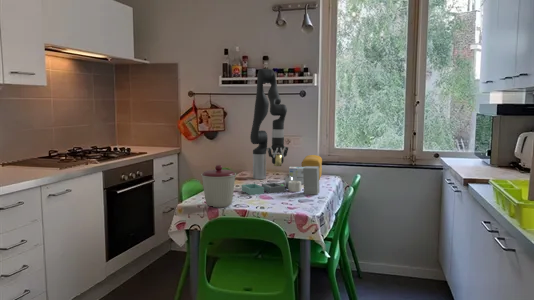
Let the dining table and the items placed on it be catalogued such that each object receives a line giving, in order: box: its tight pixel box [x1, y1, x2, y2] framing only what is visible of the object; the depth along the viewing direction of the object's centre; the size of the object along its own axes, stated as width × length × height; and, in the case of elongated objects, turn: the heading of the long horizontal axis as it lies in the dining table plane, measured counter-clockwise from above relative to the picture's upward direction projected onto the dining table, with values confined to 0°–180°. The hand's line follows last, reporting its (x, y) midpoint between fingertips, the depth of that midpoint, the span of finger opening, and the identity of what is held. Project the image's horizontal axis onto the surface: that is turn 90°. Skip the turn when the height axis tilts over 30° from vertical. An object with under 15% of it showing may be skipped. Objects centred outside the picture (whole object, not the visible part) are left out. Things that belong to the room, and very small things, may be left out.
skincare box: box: [303, 166, 320, 195], centre depth 248 cm, size 8×7×16 cm
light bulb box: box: [288, 166, 304, 185], centre depth 278 cm, size 11×7×11 cm, turn 84°
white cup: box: [287, 181, 302, 193], centre depth 256 cm, size 7×8×5 cm
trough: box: [241, 183, 265, 196], centre depth 251 cm, size 13×9×4 cm, turn 25°
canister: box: [200, 164, 237, 208], centre depth 219 cm, size 18×18×21 cm
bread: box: [300, 154, 323, 181], centre depth 302 cm, size 24×13×15 cm, turn 169°
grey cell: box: [284, 175, 293, 190], centre depth 263 cm, size 5×5×8 cm
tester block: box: [261, 182, 286, 194], centre depth 256 cm, size 12×10×4 cm
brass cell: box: [273, 153, 283, 167], centre depth 266 cm, size 5×5×8 cm
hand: (277, 163), depth 267 cm, fingers closed on brass cell, 4 cm apart
